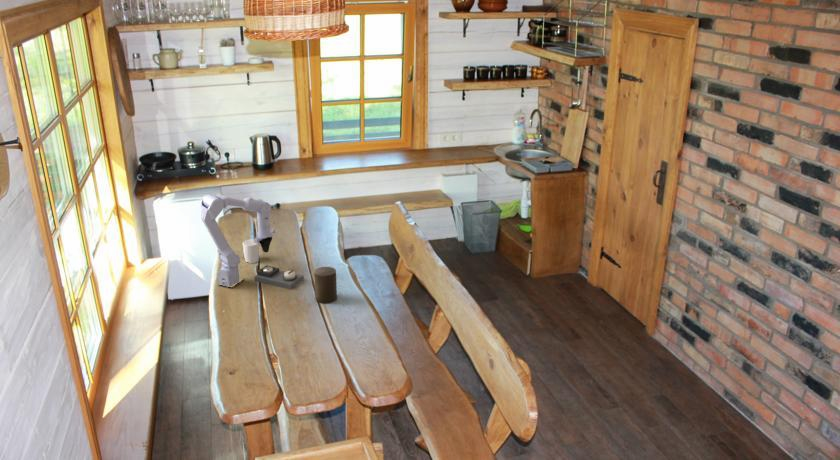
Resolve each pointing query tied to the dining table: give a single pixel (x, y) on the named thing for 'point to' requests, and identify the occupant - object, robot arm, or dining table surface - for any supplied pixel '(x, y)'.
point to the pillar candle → (325, 284)
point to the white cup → (251, 251)
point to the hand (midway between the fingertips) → (265, 251)
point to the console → (277, 278)
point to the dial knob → (289, 274)
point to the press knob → (268, 269)
